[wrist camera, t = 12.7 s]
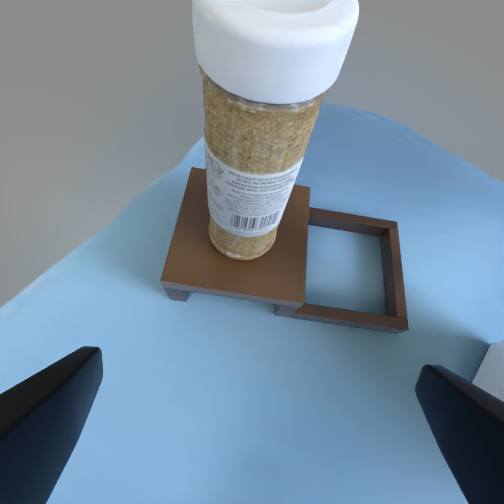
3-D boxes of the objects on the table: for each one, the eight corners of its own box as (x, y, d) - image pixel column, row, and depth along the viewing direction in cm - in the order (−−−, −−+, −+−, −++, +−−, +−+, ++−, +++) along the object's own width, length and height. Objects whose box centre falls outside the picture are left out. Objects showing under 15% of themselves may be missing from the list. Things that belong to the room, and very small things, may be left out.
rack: (397, 333, 22) (432, 323, 18) (169, 299, 21) (160, 281, 18) (388, 230, 26) (415, 204, 22) (195, 198, 25) (191, 166, 22)
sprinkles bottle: (278, 209, 21) (363, -42, 9) (271, 268, 19) (368, 50, 7) (214, 198, 21) (210, -75, 8) (200, 256, 19) (168, 10, 7)
